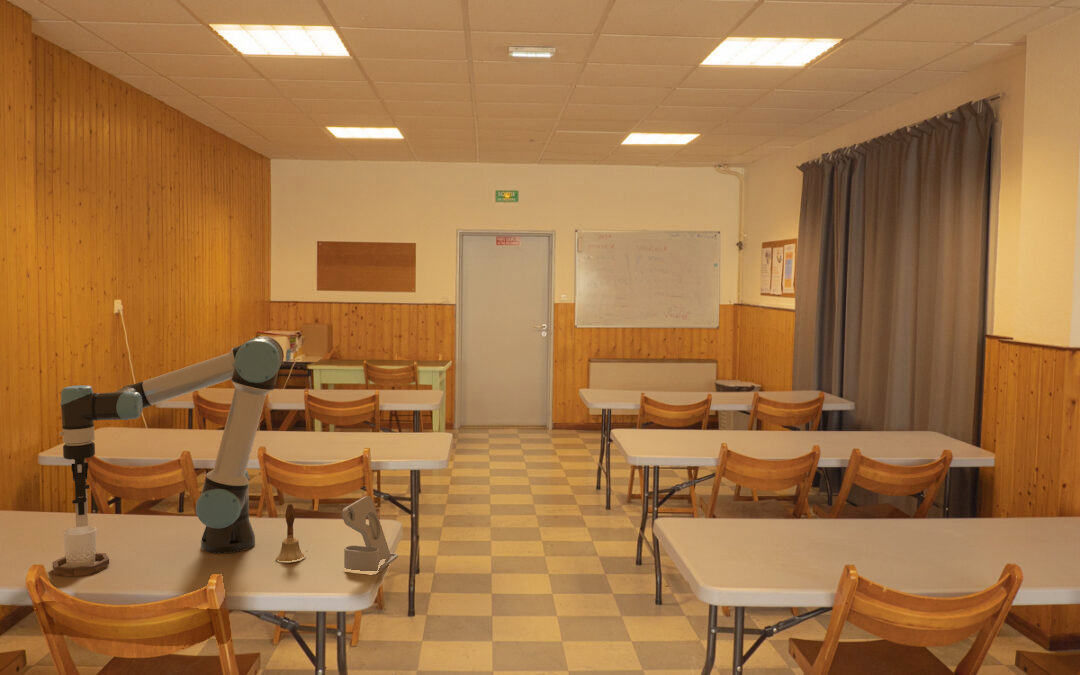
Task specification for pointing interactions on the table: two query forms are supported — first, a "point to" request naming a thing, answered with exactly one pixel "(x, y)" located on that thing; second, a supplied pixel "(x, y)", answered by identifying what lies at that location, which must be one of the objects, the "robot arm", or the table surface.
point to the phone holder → (366, 538)
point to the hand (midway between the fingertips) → (82, 519)
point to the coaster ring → (63, 570)
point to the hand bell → (290, 539)
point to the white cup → (80, 546)
